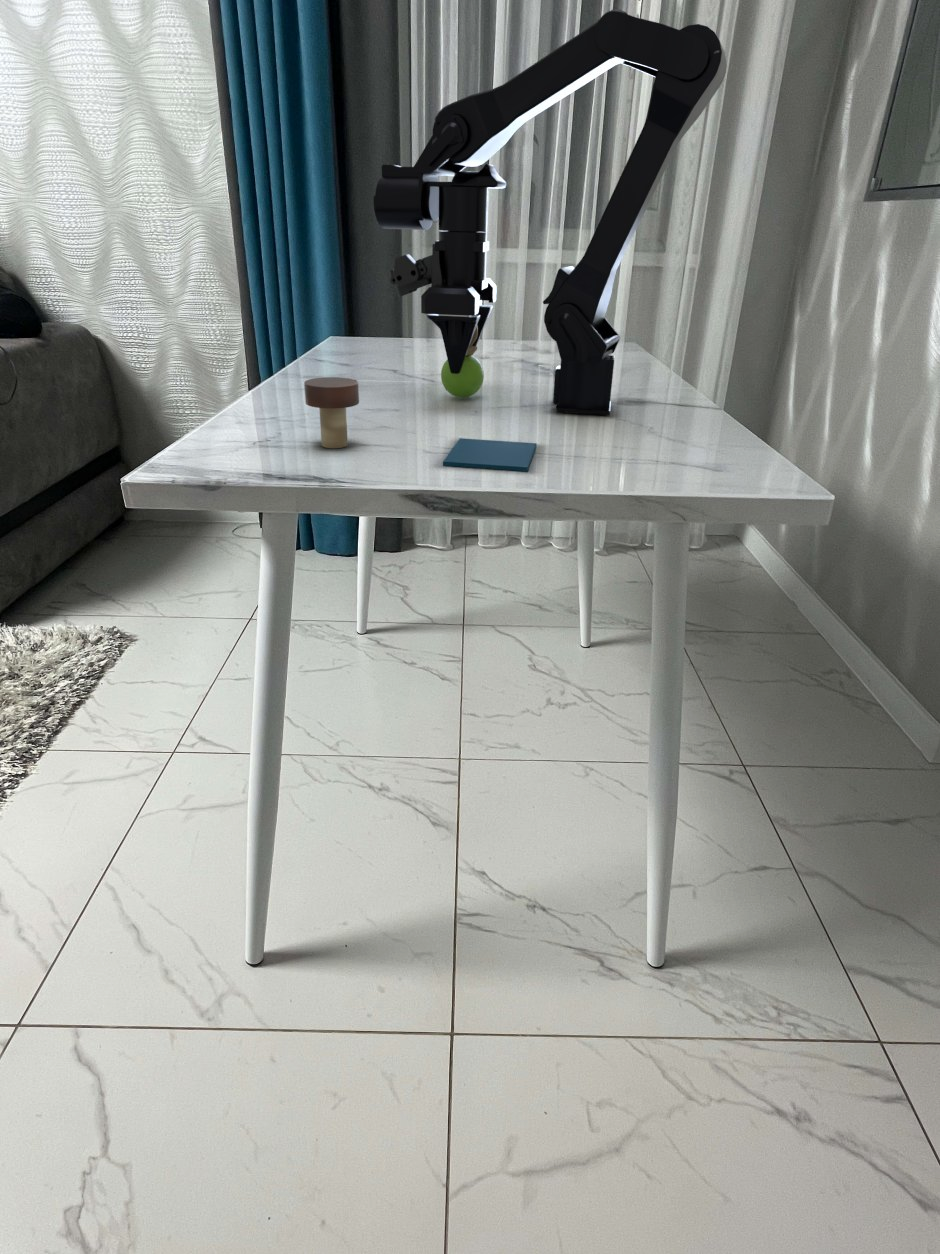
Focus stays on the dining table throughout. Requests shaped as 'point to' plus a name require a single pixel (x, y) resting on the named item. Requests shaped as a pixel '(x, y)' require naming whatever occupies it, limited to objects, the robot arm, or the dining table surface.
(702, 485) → the dining table surface
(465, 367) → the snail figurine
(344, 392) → the mushroom
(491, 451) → the flat rectangular board
